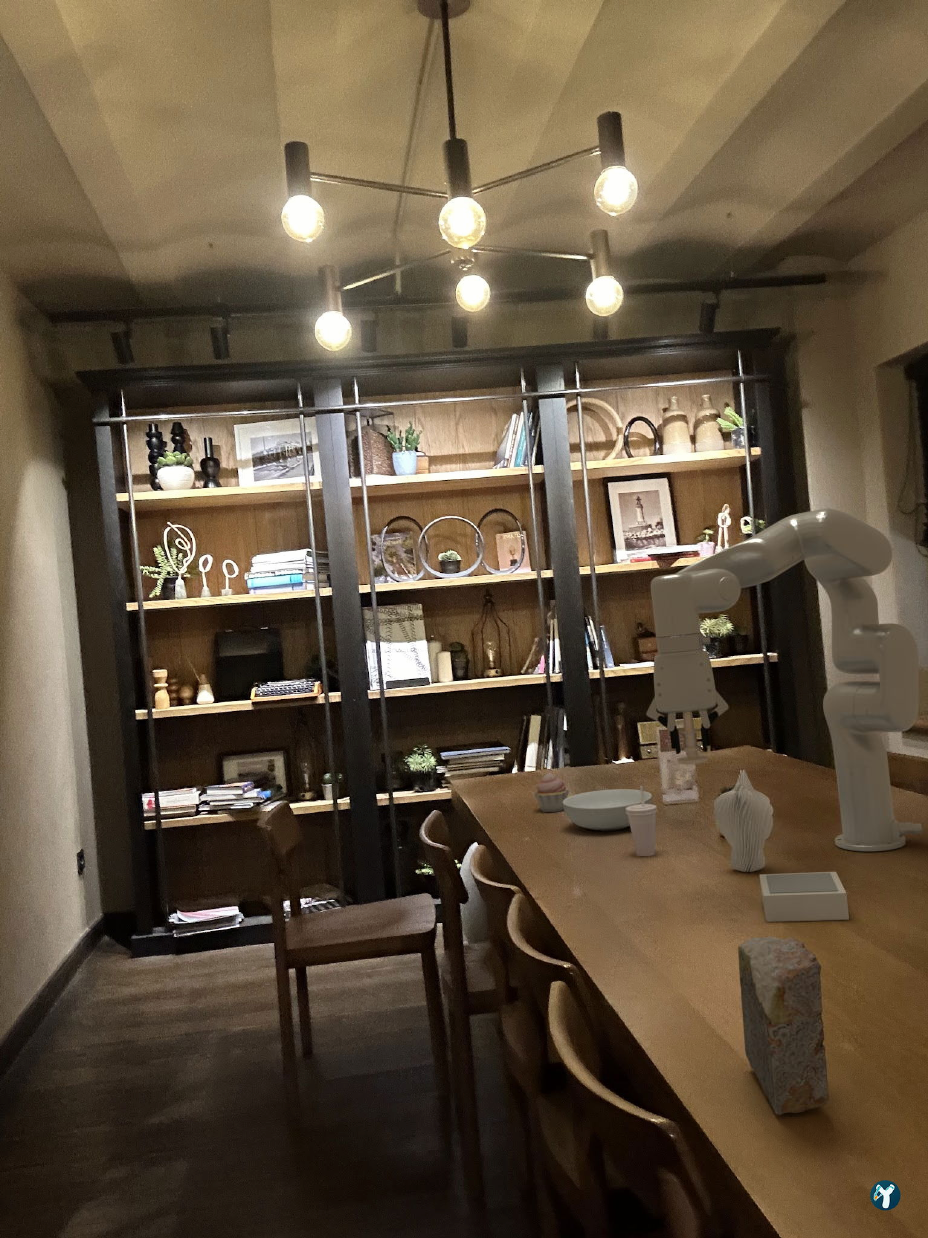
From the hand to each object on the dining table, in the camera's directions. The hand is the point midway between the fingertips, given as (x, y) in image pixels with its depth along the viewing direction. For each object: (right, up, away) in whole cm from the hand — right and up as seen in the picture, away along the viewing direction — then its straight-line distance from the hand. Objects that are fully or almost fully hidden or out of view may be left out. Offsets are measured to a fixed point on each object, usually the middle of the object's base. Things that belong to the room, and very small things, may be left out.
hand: (691, 750), depth 165 cm
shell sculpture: (+14, -24, +12) cm, 30 cm away
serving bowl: (-5, -26, +61) cm, 67 cm away
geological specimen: (-6, -25, -68) cm, 73 cm away
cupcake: (-16, -28, +88) cm, 93 cm away
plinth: (+15, -23, -13) cm, 30 cm away
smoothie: (-2, -26, +32) cm, 41 cm away
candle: (0, -2, 0) cm, 2 cm away
